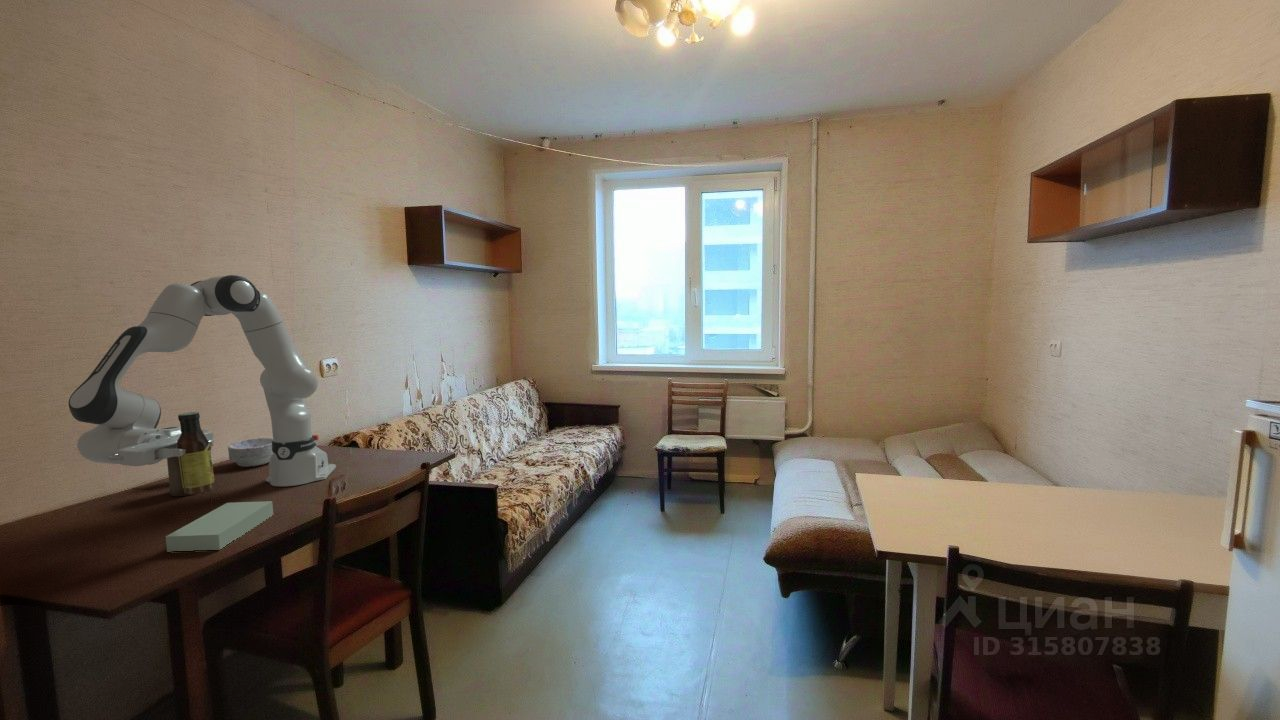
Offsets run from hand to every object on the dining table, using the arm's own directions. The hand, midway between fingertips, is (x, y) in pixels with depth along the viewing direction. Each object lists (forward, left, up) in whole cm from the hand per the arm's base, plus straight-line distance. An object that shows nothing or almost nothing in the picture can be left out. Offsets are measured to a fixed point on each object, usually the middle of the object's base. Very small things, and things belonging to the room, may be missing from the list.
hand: (197, 447), depth 135 cm
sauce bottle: (0, -1, -11) cm, 11 cm away
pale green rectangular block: (-4, +2, -24) cm, 24 cm away
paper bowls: (-68, -28, -24) cm, 78 cm away
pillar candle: (-38, -30, -24) cm, 55 cm away
